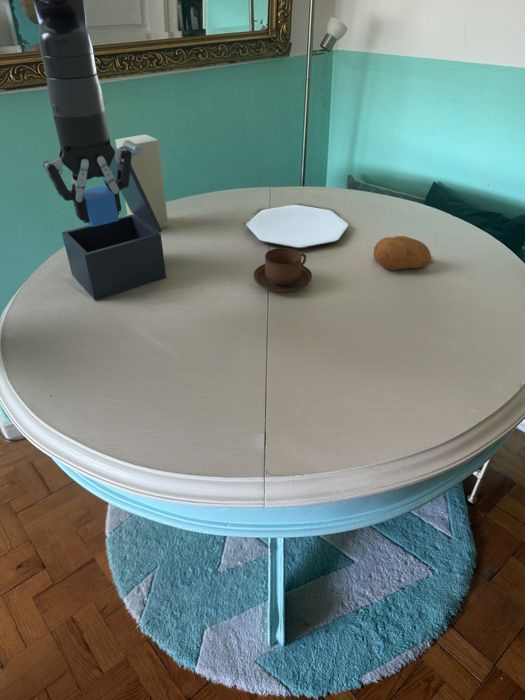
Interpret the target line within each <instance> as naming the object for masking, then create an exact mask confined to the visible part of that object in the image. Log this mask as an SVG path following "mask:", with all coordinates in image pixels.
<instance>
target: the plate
mask: <svg viewBox="0 0 525 700" xmlns="http://www.w3.org/2000/svg"><path fill="white" fill-rule="evenodd" d="M246 227H247V228H248V230H249V231H250V232H251V233H252V235H254V236H255V238H256V239H257V240H258V241H260V242H261V243H265V244H271V245H277V246H282V247H286V248H291V249H306V248H312V247H317V246H323V245H328V244H333V243H337V242H339V241H340V239H341V237H342V236H343V235H344V233H345V232H346V231H347V229H348V228H349V224H348V222H347V221H345V220H343V219H342V218H341V217H340V216H338V215H337V214H336V213H335V212H333V211H332V210H330V209H326V208H318V207H312V206H305V205H301V204H291V205H285V206H277V207H272V208H265V209H262V210H260V211H259V212H258V213H256V214H255V215H254V216H253V217H252V218H251V219H250V220H249V221H247V222H246Z"/></svg>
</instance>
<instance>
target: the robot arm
mask: <svg viewBox="0 0 525 700" xmlns="http://www.w3.org/2000/svg"><path fill="white" fill-rule="evenodd" d="M32 4H33V9H34V12H35V17H36V21H37V26H38V44H39V51H40V55H41V60H42V65H43V68H44V73H45V77H46V78H45V79H46V84H47V94H48V99H49V104H50V108H51V112H52V117H53V120H54V125H55V130H56V134H57V138H58V143H59V148H60V151H59V155H58V157H57V158H55V159H53V160H51V161H49V160H45V161H44V162H43V165H42V166H43V168H44V170H45V171H46V173H47V175H48V177H49V179H50V181H51V182H52V184H53V187H54V188H55V190H56V191H57V193H58V195H59V196H60V197H61V198H63V200H64V201H66V202H68V201H72V202H73V206H74V211H75V215H76V217H77V218H78V219H79V221H82V222H83V223H84V224H89V218H88V214H87V209H86V204H85V201H84V200H83V196H84V190H85V189H86V187H87V181H88V180H92V179H93V178H101V179H102V181H103V183H104V185H105V187H106V188H107V189H108V190H110V191H111V192H112V193H114V196H115V201H116V207H117V212H118V216H119V215H120V212H121V211H122V203H121V198H120V197H121V196H120V192H121V189H123V188H127V187H128V186H129V178H130V168H131V157H132V153H131V152H130V151H129V150H127V149H125V148H123V147H121V148H120V149H117V147H115V148H114V146H113V144H112V143H111V137H110V132H109V131H110V130H109V126H108V119H107V114H106V108H105V105H106V104H105V103H106V102H105V99H104V97H103V96H104V95H103V91H102V90H103V89H102V87H101V84H100V80H99V77H98V71H97V67H96V66H97V65H96V59H95V54H94V49H93V44H92V41H91V40H92V39H91V37H90V33H89V30H88V26H87V15H86V8H85V0H32ZM114 155H115V159H116V161H117V162H118V166H117V177H116V180H115V178H114V176H113V174H112V172H111V170H110V168H109V166H110V164H111V162H112V159H113V157H114ZM63 166H65V167H66V168H67V169H68V170H69V171H70V173H71V174H70V183H71V185H70V189H68V187H67V185H66V183H65V182H64V179H63V178H62V176H61V175H62V174H63V173H64V172H63Z"/></svg>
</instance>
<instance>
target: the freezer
mask: <svg viewBox="0 0 525 700" xmlns="http://www.w3.org/2000/svg"><path fill="white" fill-rule="evenodd" d="M118 218H119V221H115V222H111V223H107V224H103V225H99V226H95V227H92V226H91V225H90V224H88V225H85V226H81V227H76V228H74V229H68V230H65V231H61V236H62V240H63V243H64V249H65V252H66V256H67V260H68V265H69V268H70V271H71V276H72V277H73V278H74V279H75V280H76V281H77V283H79V284H80V286H81V287H82V288H83V289H84V290H85V291H86V292H87V294H88V295H89V296H90V297H91V298H92V299H93V300H94V301H95V302H97V301H98V300H99V301H100V300H102V299H105V298H109V297H111V296H114V295H117V294H121V293H123V292H126V291H129V290H132V289H135V288H139V287H141V286H145V285H148V284H151V283H154V282H157V281H160V280H163V279H166V278H167V271H166V264H165V256H164V249H163V242H162V241H163V239H162V234H161V232H157V231H156V230H154V229H153V228H152V227H150V226H149V225H148V224H146V223H145V222H144V221H142V220H141V219H140V218H138V217H137V216H135V215H134V214H132V215H125V216H119V217H118Z"/></svg>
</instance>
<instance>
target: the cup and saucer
mask: <svg viewBox="0 0 525 700" xmlns="http://www.w3.org/2000/svg"><path fill="white" fill-rule="evenodd" d="M302 258H303V259H302ZM306 262H307V255H306V253H304V252H300V251H298V250H296V249H295V248H291V247H277V248H273V249H270V250H268V251H266V252H265V255H264V264H262V265H259V266H258V267H257V268H256V269H255V270H254V272H253V278H254V279H253V280H254V281H255V283H256V284H257V285H259V287H261V288H263V289H265V290H268V291H271V292H275V293H292V292H296V291H299V290H301V289H303V288H305V287H306V286H308V285H309V284H310V283H311V281H312V278H313V274H312V271H311V269H309V267H307V266H306V265H305V264H306Z"/></svg>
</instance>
